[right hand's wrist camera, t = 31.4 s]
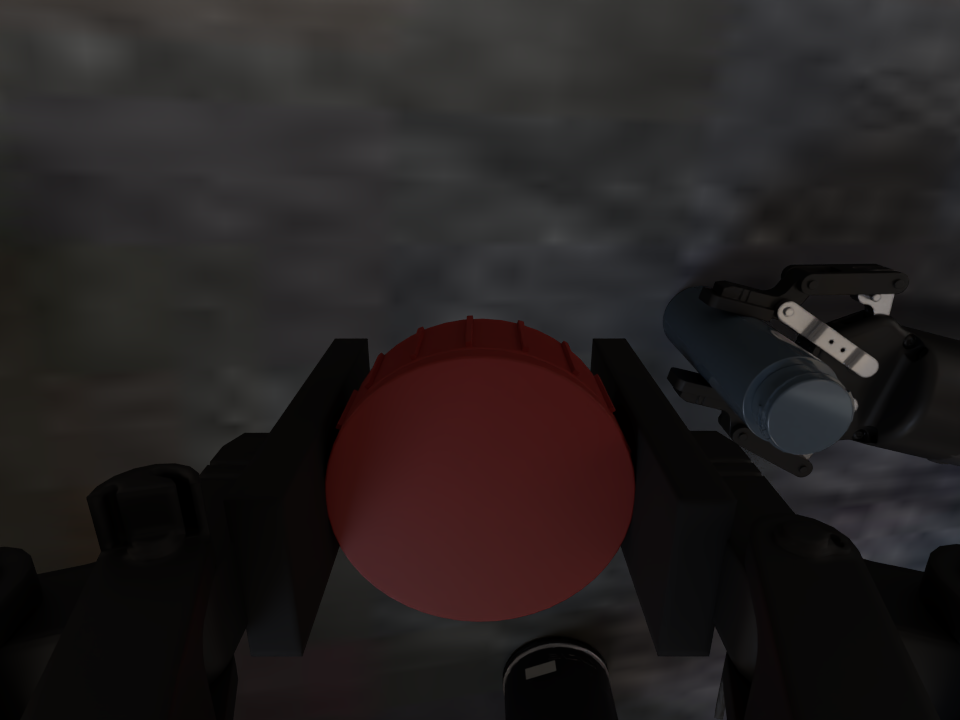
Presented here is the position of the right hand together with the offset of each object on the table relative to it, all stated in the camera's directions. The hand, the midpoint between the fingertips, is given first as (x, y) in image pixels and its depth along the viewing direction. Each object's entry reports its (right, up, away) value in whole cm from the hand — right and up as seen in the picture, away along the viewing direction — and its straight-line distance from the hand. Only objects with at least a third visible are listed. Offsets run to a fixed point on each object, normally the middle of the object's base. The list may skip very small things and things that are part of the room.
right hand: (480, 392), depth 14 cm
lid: (0, -1, -4) cm, 4 cm away
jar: (+15, +4, +27) cm, 31 cm away
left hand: (+12, +2, +21) cm, 25 cm away
